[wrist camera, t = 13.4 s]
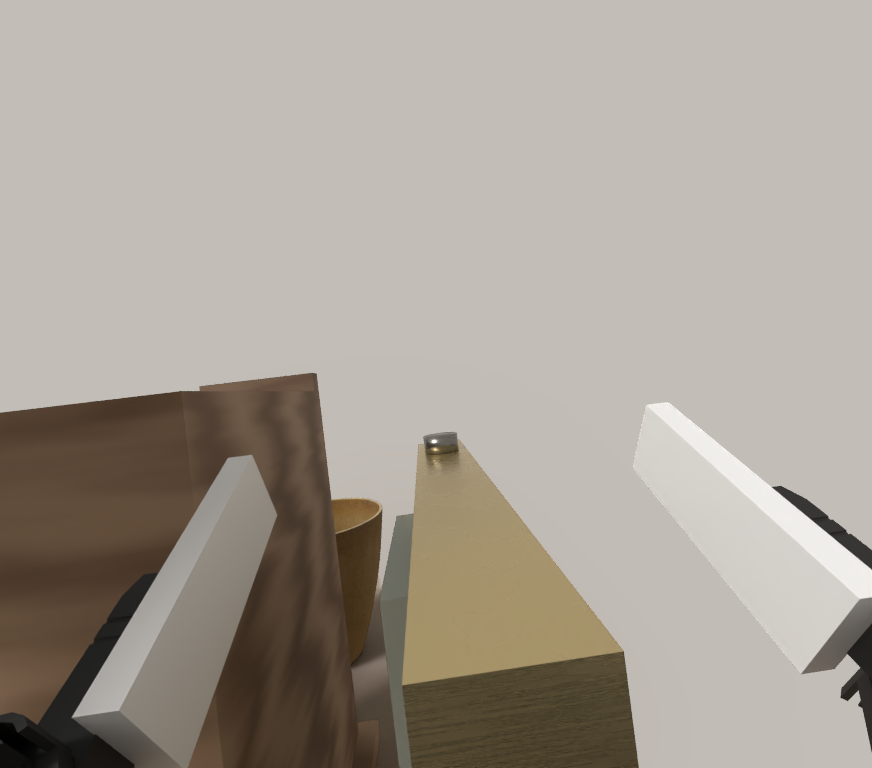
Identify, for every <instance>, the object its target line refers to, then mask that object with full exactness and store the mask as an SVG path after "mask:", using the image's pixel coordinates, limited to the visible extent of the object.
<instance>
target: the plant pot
mask: <svg viewBox="0 0 872 768" xmlns="http://www.w3.org/2000/svg"><path fill="white" fill-rule="evenodd" d="M331 502H332V510H333V519H334V527H335V536H336V544H337V553H338V561H339V570H340V578H341V587H342V595H343V604H344V612H345V621H346V629H347V638H348V646H349V655H350V664H352V663H353V662H354V661H355V660H356V659H357V658H358V657H359V656H360V654H361V652H362V650H363V648H364V644H365V640H366V636H367V632H368V628H369V623H370V619H371V614H372V609H373V603H374V598H375V591H376V585H377V578H378V570H379V561H380V549H381V528H382V505H381V504H380V503H379V502H377V501H375V500H371V499H365V498H342V499H332V500H331Z"/></svg>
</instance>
